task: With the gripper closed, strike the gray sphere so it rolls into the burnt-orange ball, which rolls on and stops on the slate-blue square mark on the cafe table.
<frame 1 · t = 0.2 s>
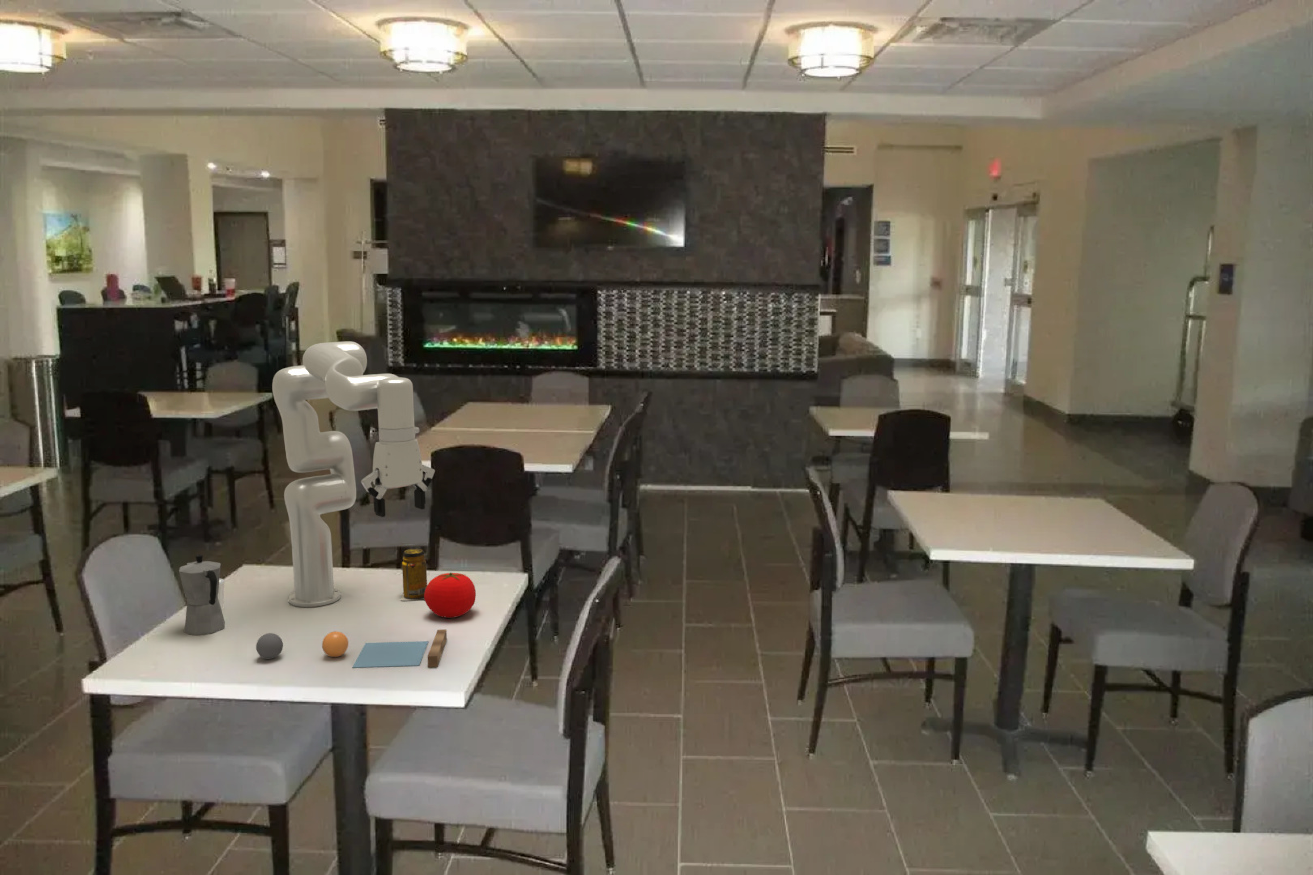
hand: (400, 511, 227), 31 cm above the table, tool pointing down, fingers open, 9 cm apart
tomato: (451, 615, 253), on the table
coffeepot: (206, 630, 243), on the table
gray sphere: (269, 646, 225), on the table
condiment: (419, 596, 267), on the table
shot glass: (211, 609, 257), on the table
object ball: (335, 644, 226), on the table
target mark: (391, 654, 227), on the table
stopper wall: (437, 653, 228), on the table
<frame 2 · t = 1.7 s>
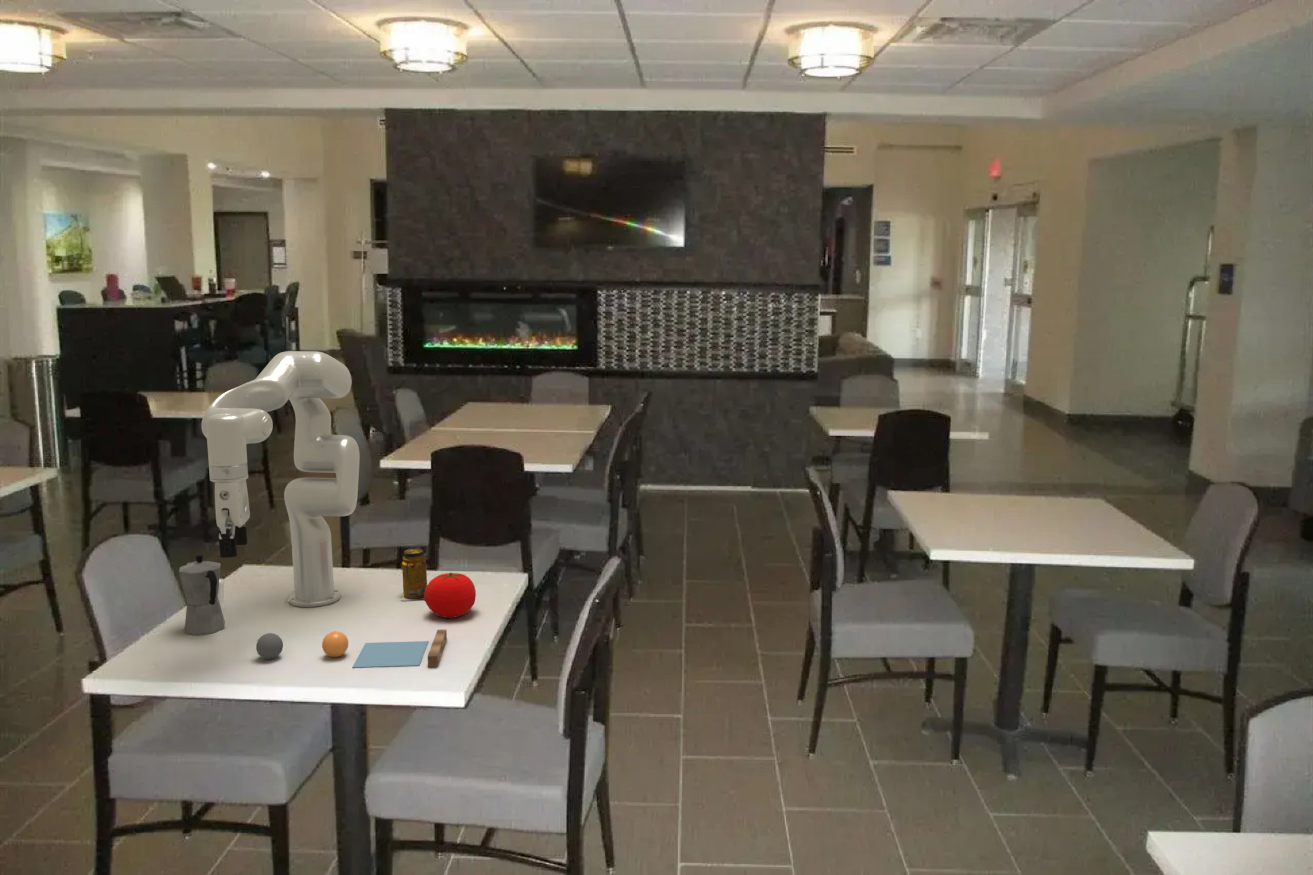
hand: (234, 550, 221), 24 cm above the table, tool pointing down, fingers open, 9 cm apart
nothing on the table moved.
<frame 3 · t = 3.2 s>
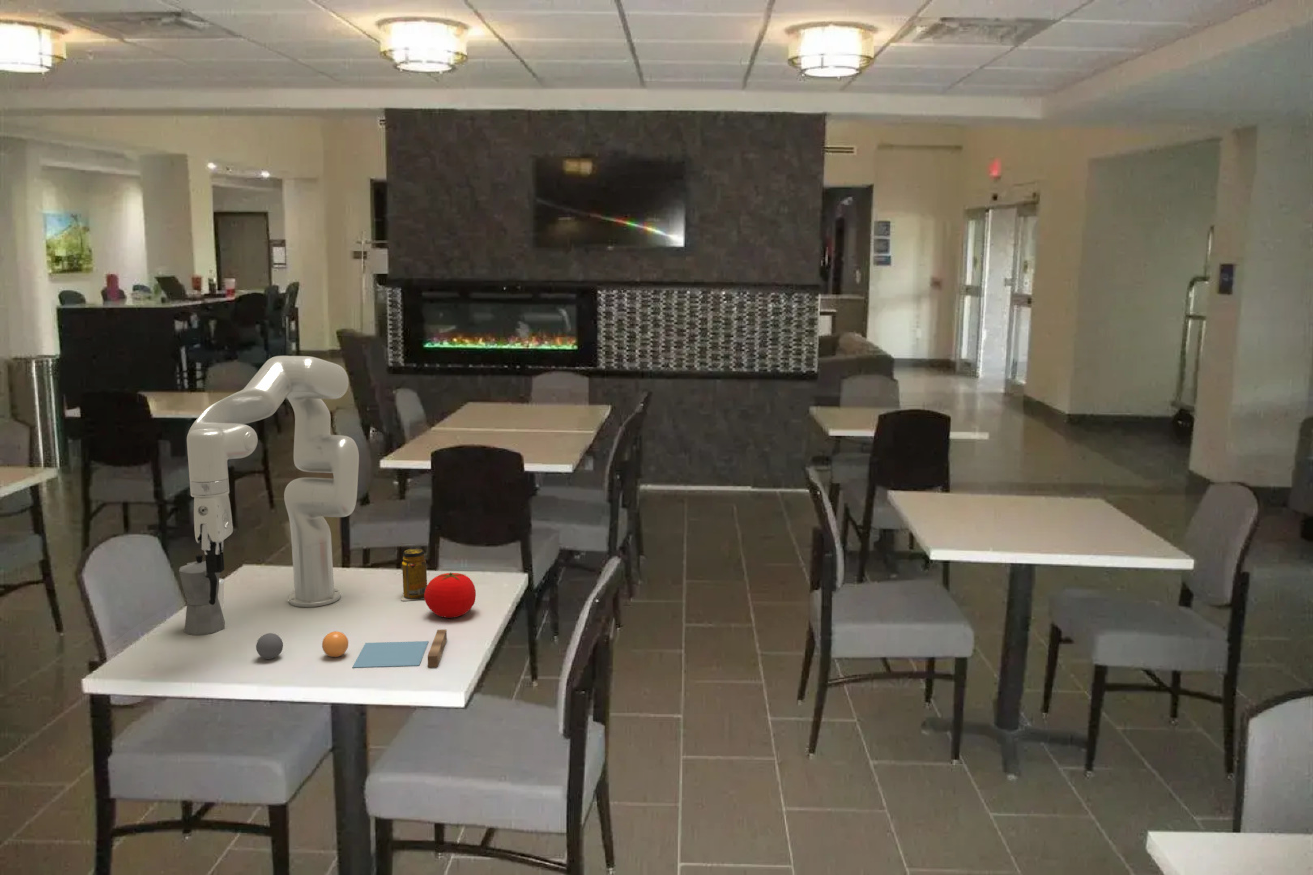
hand: (215, 571, 221), 20 cm above the table, tool pointing down, fingers closed
nothing on the table moved.
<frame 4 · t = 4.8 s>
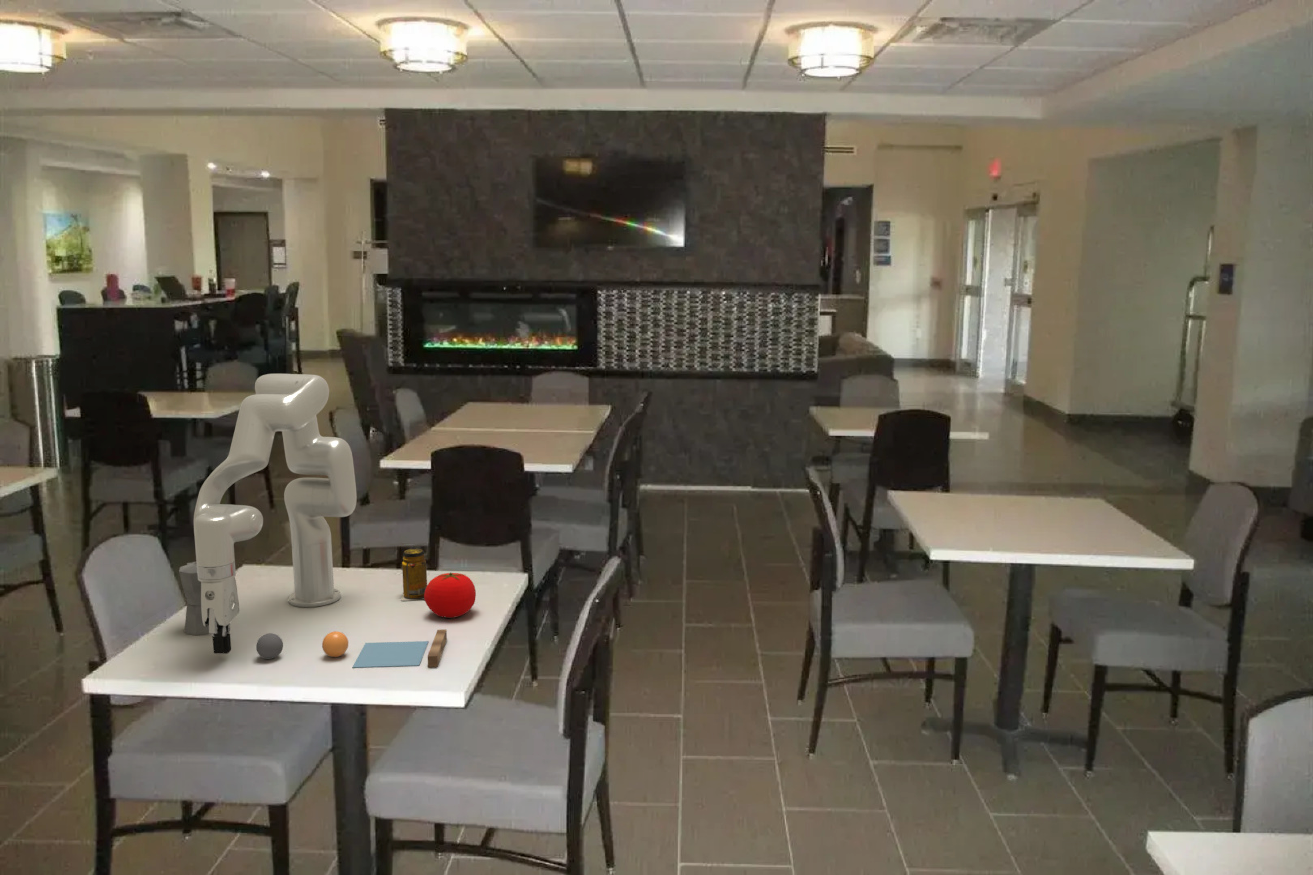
hand: (222, 652, 224), 2 cm above the table, tool pointing down, fingers closed
nothing on the table moved.
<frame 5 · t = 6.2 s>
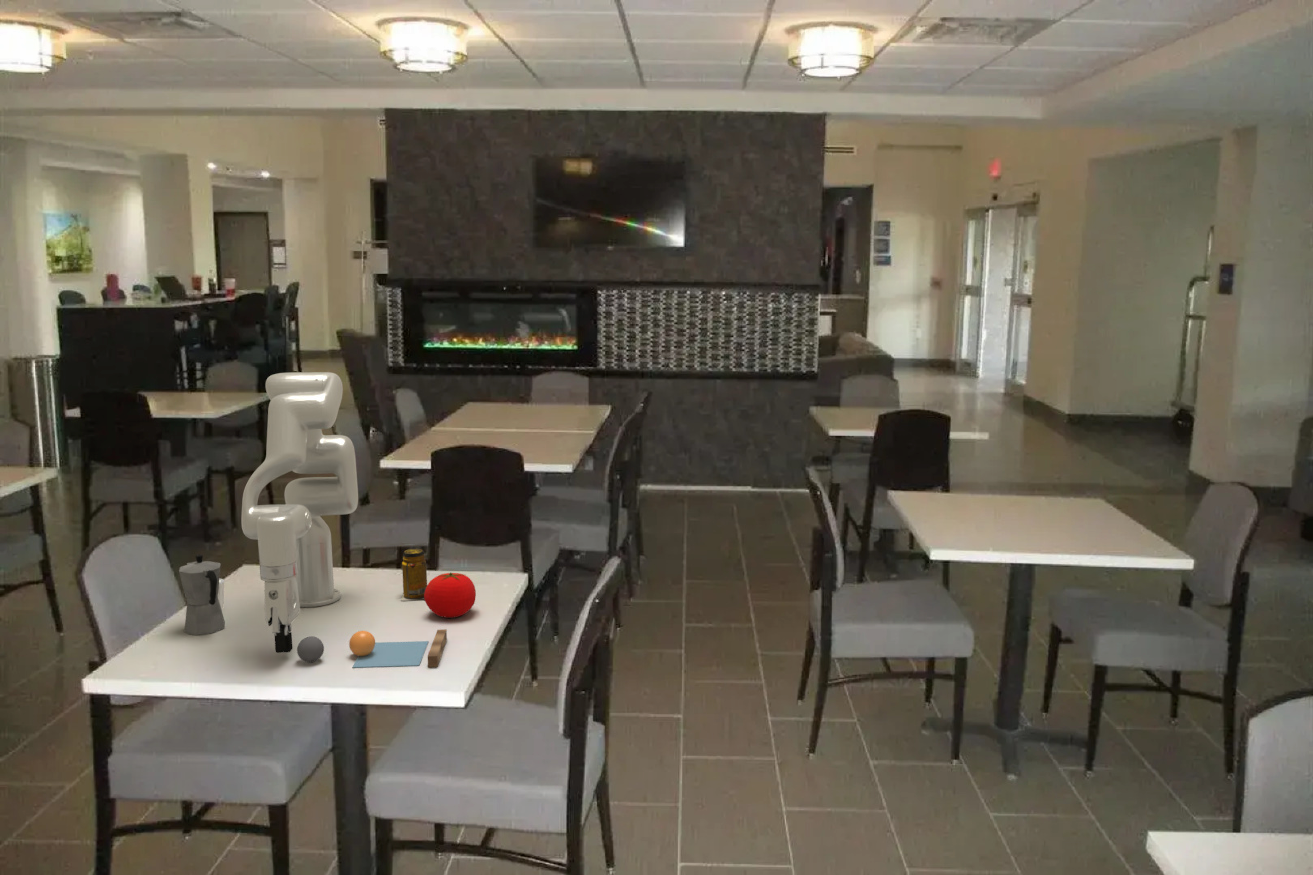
hand: (284, 651, 225), 2 cm above the table, tool pointing down, fingers closed
gray sphere: (310, 649, 223), on the table
object ball: (362, 643, 227), on the table
everything else where it was.
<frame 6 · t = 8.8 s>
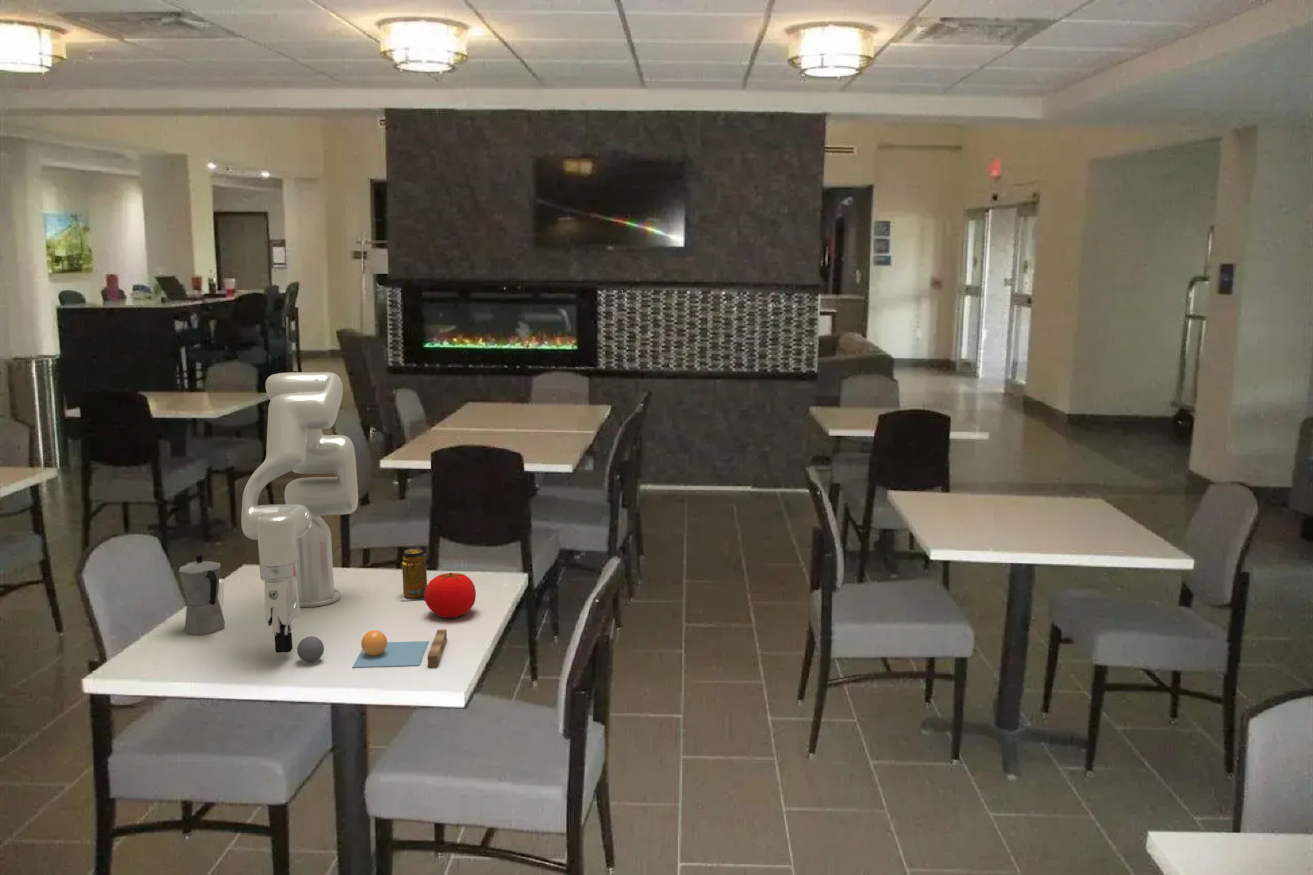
hand: (284, 651, 225), 2 cm above the table, tool pointing down, fingers closed
object ball: (374, 643, 227), on the table
everything else where it was.
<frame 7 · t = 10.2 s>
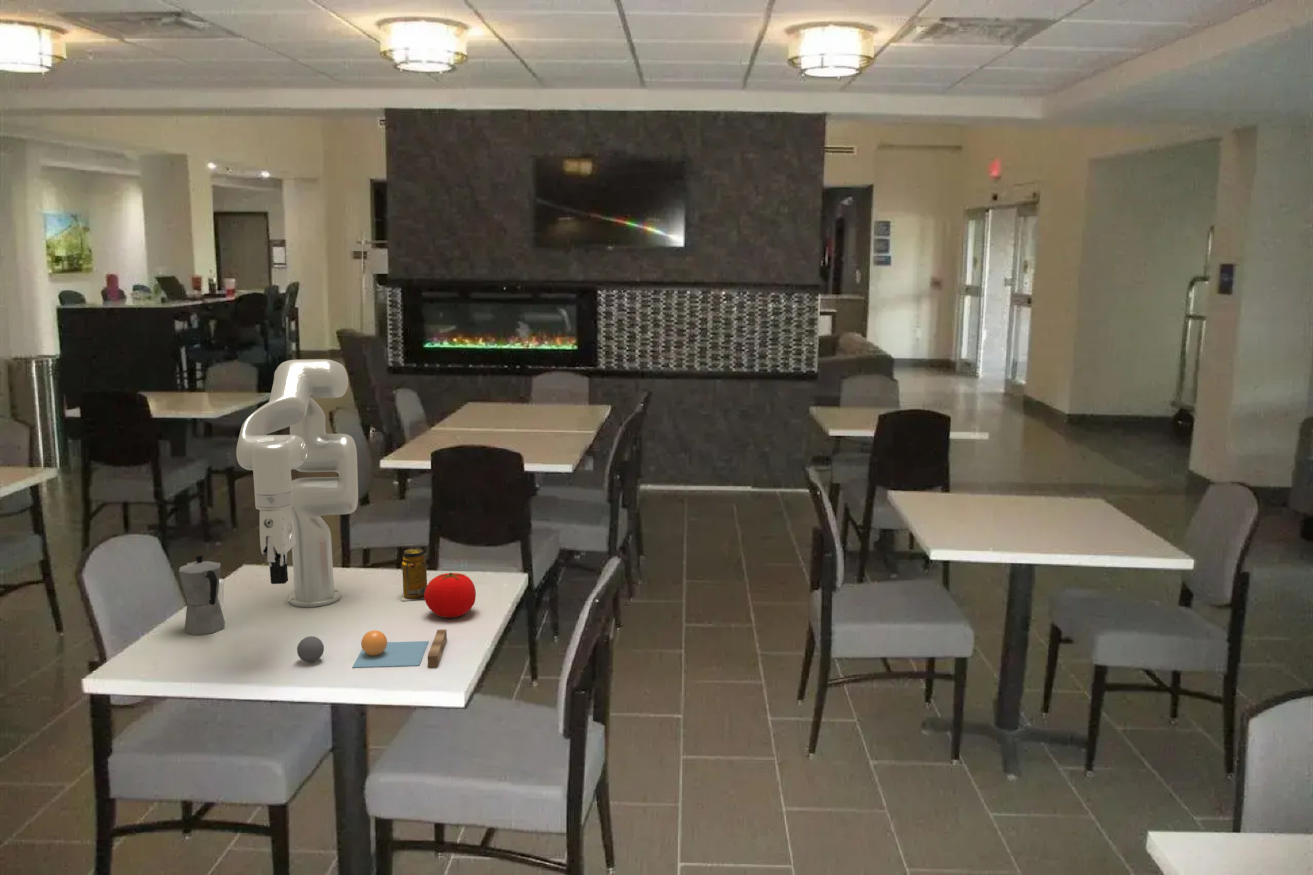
hand: (279, 582, 223), 17 cm above the table, tool pointing down, fingers closed
nothing on the table moved.
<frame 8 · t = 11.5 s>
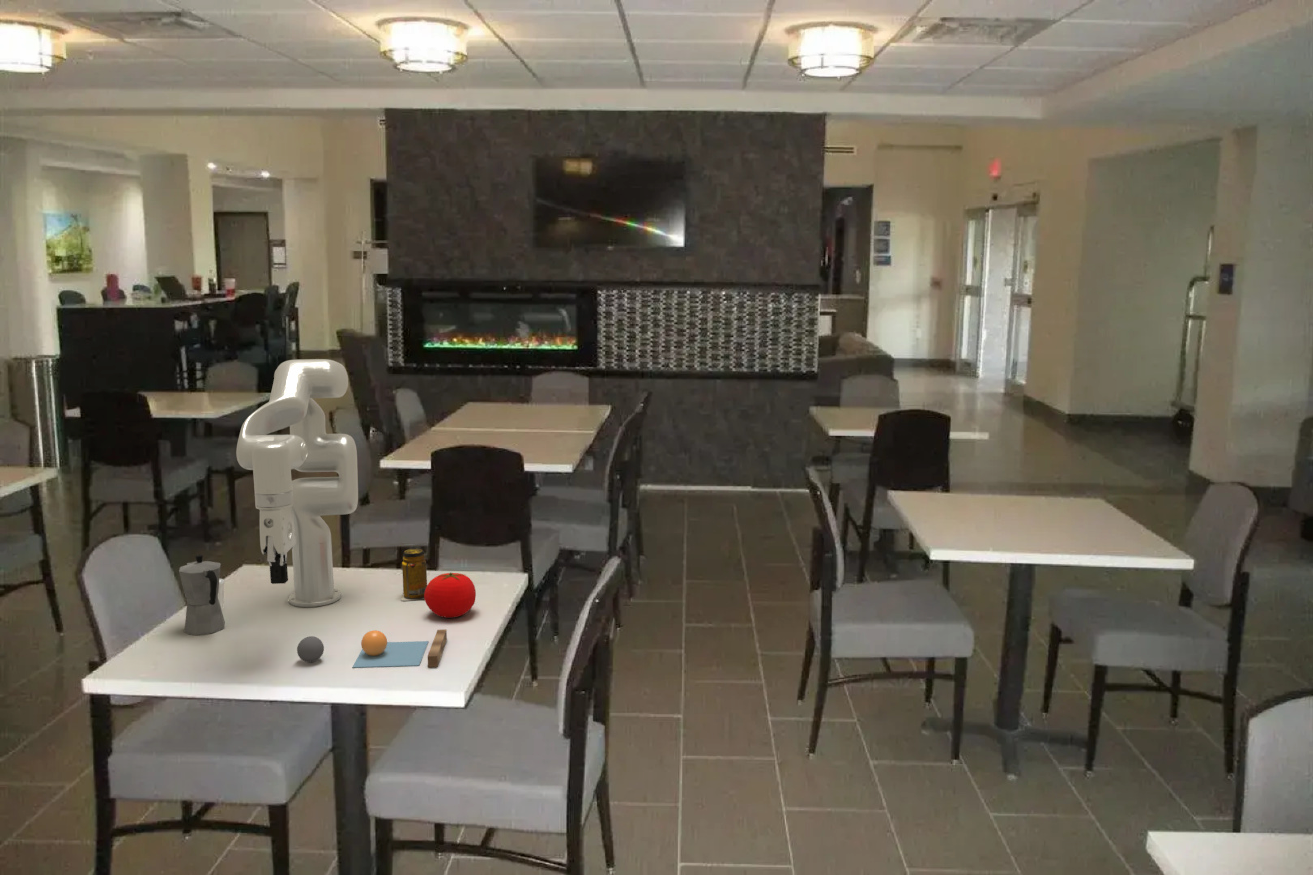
hand: (279, 582, 223), 17 cm above the table, tool pointing down, fingers closed
nothing on the table moved.
at the end: object ball 3.6 cm from the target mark (horizontally); object ball never touched the robot; gray sphere first touched object ball at 5.5 s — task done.
